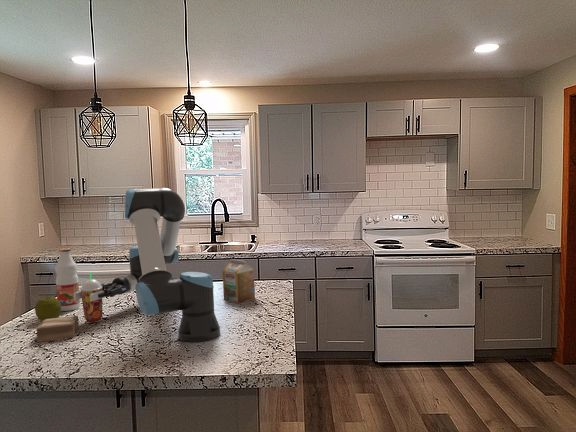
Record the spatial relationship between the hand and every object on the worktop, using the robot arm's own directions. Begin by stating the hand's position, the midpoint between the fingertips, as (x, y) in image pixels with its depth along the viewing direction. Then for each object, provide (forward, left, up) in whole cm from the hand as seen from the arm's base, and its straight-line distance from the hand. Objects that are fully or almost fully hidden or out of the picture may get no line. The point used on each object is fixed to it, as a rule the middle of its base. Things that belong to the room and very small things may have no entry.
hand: (82, 297), depth 179 cm
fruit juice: (+32, +11, -12) cm, 36 cm away
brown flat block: (-7, +8, -12) cm, 16 cm away
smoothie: (+4, -3, -11) cm, 12 cm away
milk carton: (+16, -66, -12) cm, 69 cm away
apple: (+15, +16, -12) cm, 25 cm away
